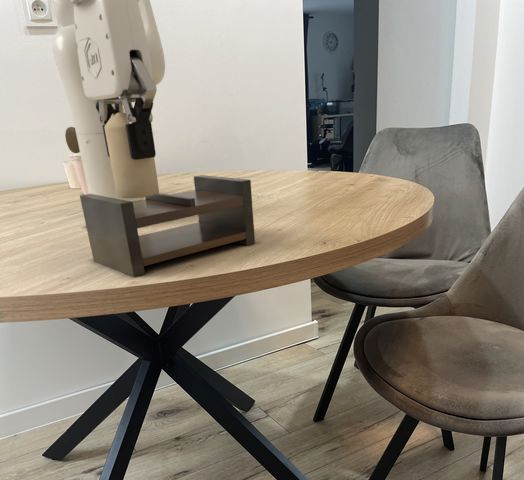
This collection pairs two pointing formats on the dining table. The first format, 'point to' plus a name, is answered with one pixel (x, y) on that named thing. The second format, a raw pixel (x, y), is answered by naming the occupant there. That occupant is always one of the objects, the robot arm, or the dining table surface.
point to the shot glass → (71, 175)
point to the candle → (128, 163)
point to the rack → (163, 210)
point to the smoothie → (79, 171)
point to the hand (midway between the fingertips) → (131, 156)
